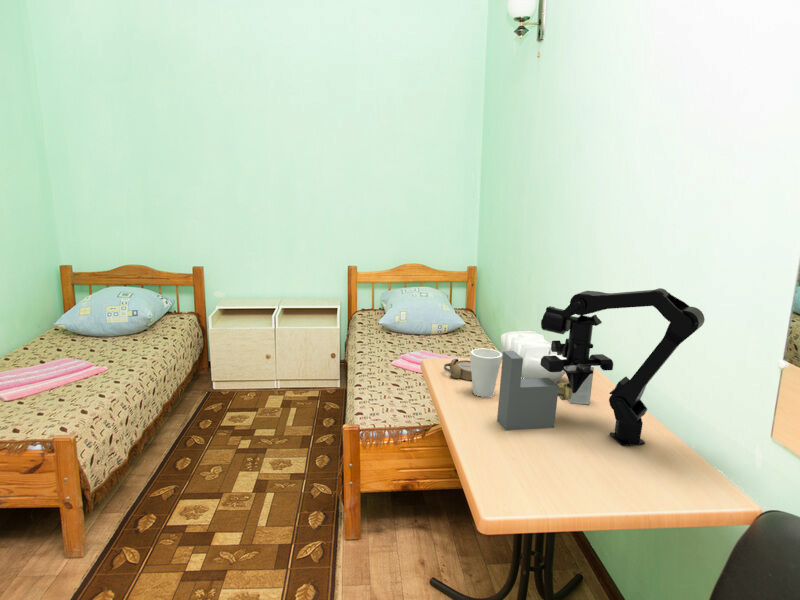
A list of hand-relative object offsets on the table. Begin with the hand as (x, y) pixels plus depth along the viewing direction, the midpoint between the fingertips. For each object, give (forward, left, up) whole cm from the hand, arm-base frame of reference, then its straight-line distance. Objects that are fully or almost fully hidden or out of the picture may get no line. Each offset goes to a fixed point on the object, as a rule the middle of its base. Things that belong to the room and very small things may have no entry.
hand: (573, 392), depth 155 cm
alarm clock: (+38, +18, -9) cm, 43 cm away
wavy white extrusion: (+43, -8, -9) cm, 44 cm away
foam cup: (+22, +17, -9) cm, 29 cm away
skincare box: (+13, -10, -9) cm, 18 cm away
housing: (0, +13, -8) cm, 16 cm away
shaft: (0, +8, -2) cm, 8 cm away
